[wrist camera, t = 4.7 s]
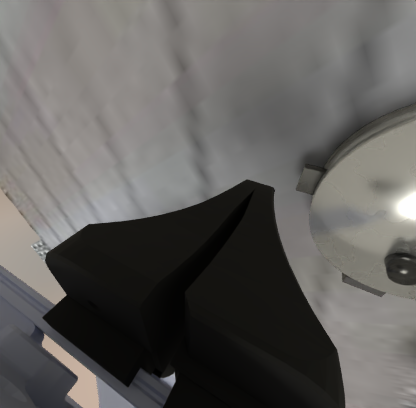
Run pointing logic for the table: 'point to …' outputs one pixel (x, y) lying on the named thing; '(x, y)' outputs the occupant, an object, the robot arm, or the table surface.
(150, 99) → the table surface
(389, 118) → the grey flat round piece
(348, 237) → the lid
